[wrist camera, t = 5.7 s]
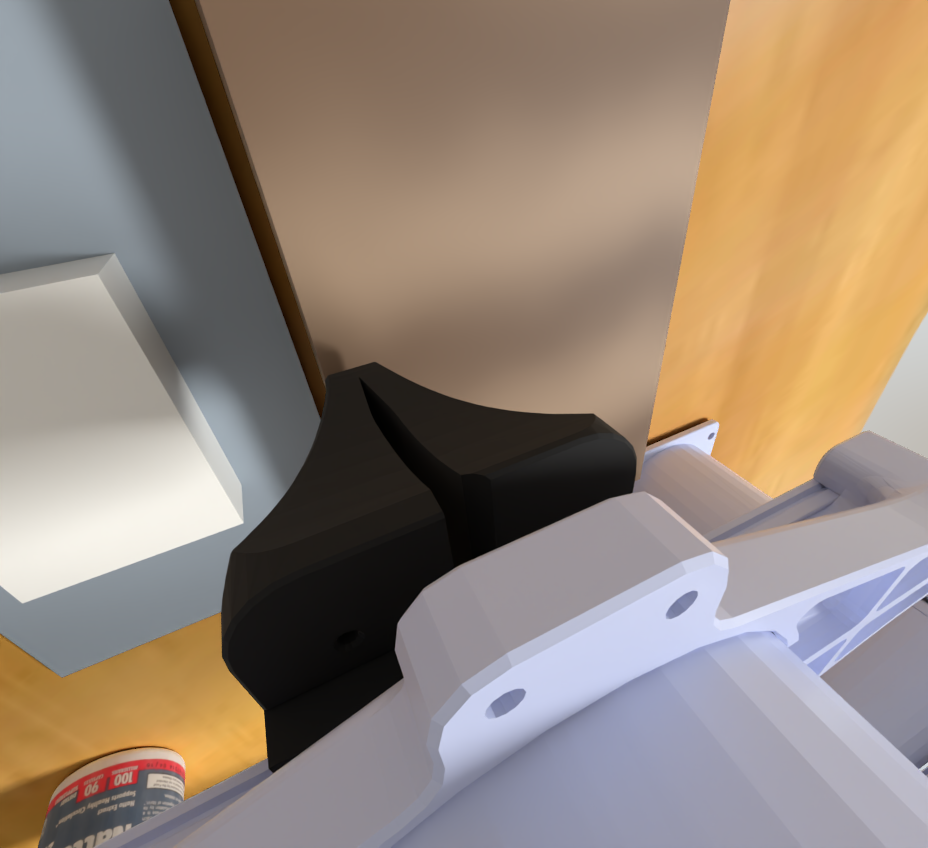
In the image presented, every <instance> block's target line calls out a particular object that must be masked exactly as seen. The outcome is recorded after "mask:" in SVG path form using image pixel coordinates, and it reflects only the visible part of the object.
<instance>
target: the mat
mask: <svg viewBox="0 0 928 848" xmlns="http://www.w3.org/2000/svg"><path fill="white" fill-rule="evenodd" d="M113 253H115V255H116V257H117V259H118V261H119V262H120V264H121V266H122V268H123V270H124V271H125V273H126V275H127V277H128V279H129V281H130V282H131V284H132V286H133V288H134V290H135V292H136V293H137V295H138V297H139V299H140V301H141V302H142V304H143V306H144V308H145V310H146V312H147V313H148V315H149V317H150V319H151V321H152V323H153V324H154V326H155V328H156V330H157V332H158V333H159V335H160V337H161V339H162V341H163V343H164V344H165V346H166V348H167V350H168V352H169V354H170V355H171V357H172V359H173V361H174V363H175V364H176V366H177V368H178V370H179V372H180V374H181V375H182V377H183V379H184V381H185V383H186V385H187V386H188V388H189V390H190V392H191V394H192V395H193V397H194V399H195V401H196V403H197V405H198V406H199V408H200V410H201V412H202V414H203V416H204V417H205V419H206V421H207V423H208V425H209V426H210V428H211V430H212V432H213V434H214V436H215V437H216V439H217V441H218V443H219V445H220V447H221V448H222V450H223V452H224V454H225V456H226V457H227V459H228V461H229V463H230V465H231V467H232V468H233V470H234V472H235V474H236V476H237V478H238V479H239V481H240V483H241V485H242V503H243V520H244V523H243V524H240V525H237V526H235V527H232V528H229V529H226V530H224V531H221V532H218V533H215V534H213V535H210V536H207V537H204V538H202V539H199V540H196V541H193V542H191V543H188V544H185V545H182V546H180V547H177V548H174V549H171V550H169V551H166V552H163V553H160V554H158V555H155V556H152V557H149V558H147V559H144V560H141V561H138V562H136V563H133V564H130V565H127V566H125V567H122V568H119V569H116V570H113V571H111V572H108V573H105V574H102V575H100V576H97V577H94V578H91V579H89V580H86V581H83V582H80V583H78V584H75V585H72V586H69V587H67V588H64V589H61V590H58V591H56V592H53V593H50V594H47V595H45V596H42V597H39V598H36V599H34V600H31V601H28V602H25V603H23V604H22V603H21V602H20V601H19V600H17V599H16V598H15V597H14V596H12V595H11V594H10V593H9V592H7V591H6V590H5V589H4V588H3V587H1V586H0V634H2V635H3V636H5V637H6V638H7V639H9V640H10V641H12V642H13V643H14V644H16V645H17V646H19V647H20V648H21V649H23V650H24V651H26V652H27V653H28V654H30V655H31V656H33V657H34V658H35V659H37V660H38V661H39V662H41V663H42V664H44V665H45V666H46V667H48V668H49V669H51V670H52V671H53V672H55V673H56V674H58V675H59V676H60V677H65V676H67V675H70V674H72V673H74V672H77V671H79V670H82V669H84V668H87V667H89V666H91V665H94V664H96V663H99V662H101V661H103V660H106V659H108V658H111V657H113V656H116V655H118V654H120V653H123V652H125V651H128V650H130V649H133V648H135V647H137V646H140V645H142V644H145V643H147V642H150V641H152V640H154V639H157V638H159V637H162V636H164V635H166V634H169V633H171V632H174V631H176V630H179V629H181V628H183V627H186V626H188V625H191V624H193V623H196V622H198V621H200V620H203V619H205V618H208V617H210V616H213V615H215V614H217V613H220V612H221V608H222V597H223V591H224V585H225V578H226V573H227V568H228V563H229V558H230V554H231V552H232V550H233V549H234V548H235V547H236V546H238V545H239V544H240V543H241V542H242V541H243V540H244V539H245V538H246V537H247V536H248V535H249V534H250V533H251V532H252V531H253V530H254V529H255V528H256V527H257V526H258V525H259V524H260V523H261V522H262V521H263V520H264V519H265V517H266V516H267V515H268V514H269V513H270V512H271V511H272V509H273V508H274V507H275V506H276V505H277V503H278V502H279V501H280V500H281V499H282V497H283V496H284V495H285V493H286V492H287V491H288V489H289V488H290V486H291V485H292V483H293V482H294V480H295V478H296V476H297V475H298V473H299V471H300V469H301V468H302V466H303V464H304V462H305V460H306V458H307V456H308V454H309V452H310V449H311V447H312V445H313V442H314V440H315V437H316V434H317V430H318V427H319V424H320V421H321V419H320V416H319V413H318V411H317V408H316V405H315V402H314V400H313V397H312V394H311V391H310V389H309V386H308V383H307V380H306V378H305V375H304V372H303V369H302V366H301V364H300V361H299V358H298V355H297V353H296V350H295V347H294V344H293V342H292V339H291V336H290V333H289V331H288V328H287V325H286V322H285V320H284V317H283V314H282V311H281V309H280V306H279V303H278V300H277V297H276V295H275V292H274V289H273V286H272V284H271V281H270V278H269V275H268V273H267V270H266V267H265V264H264V262H263V259H262V256H261V253H260V251H259V248H258V245H257V242H256V239H255V237H254V234H253V231H252V228H251V226H250V223H249V220H248V217H247V215H246V212H245V209H244V206H243V204H242V201H241V198H240V195H239V193H238V190H237V187H236V184H235V182H234V179H233V176H232V173H231V170H230V168H229V165H228V162H227V159H226V157H225V154H224V151H223V148H222V146H221V143H220V140H219V137H218V135H217V132H216V129H215V126H214V124H213V121H212V118H211V115H210V112H209V110H208V107H207V104H206V101H205V99H204V96H203V93H202V90H201V88H200V85H199V82H198V79H197V77H196V74H195V71H194V68H193V66H192V63H191V60H190V57H189V55H188V52H187V49H186V46H185V43H184V41H183V38H182V35H181V32H180V30H179V27H178V24H177V21H176V19H175V16H174V13H173V10H172V8H171V5H170V2H169V0H0V274H6V273H11V272H16V271H22V270H27V269H32V268H38V267H43V266H49V265H54V264H59V263H65V262H70V261H75V260H81V259H86V258H91V257H97V256H102V255H107V254H113Z"/></svg>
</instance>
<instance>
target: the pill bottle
mask: <svg viewBox="0 0 928 848" xmlns="http://www.w3.org/2000/svg"><path fill="white" fill-rule="evenodd" d="M184 785H185V762H184V760H183V758H182V757H181V756H180V755H179V754H178V753H177V752H175V751H172V750H169V749H165V748H153V747H149V748H137V749H131V750H126V751H122V752H118V753H115V754H111V755H108V756H105V757H103V758H100V759H98V760H95V761H93V762H91V763H89V764H87V765H85V766H84V767H82V768H80V769H78V770H77V771H75V772H74V773H72V774H71V775H70V776H68V777H67V778H66V779H65V780H64V781H63V782H62V783H61V784H60V785H59V786H58V787H57V788H56V790H55V791H54V793H53V795H52V797H51V800H50V803H49V807H48V810H47V814H46V818H45V822H44V826H43V830H42V834H41V837H40V841H39V845H38V848H93V847H95V846H97V845H99V844H101V843H103V842H105V841H107V840H109V839H111V838H113V837H115V836H117V835H119V834H121V833H123V832H124V831H126V830H128V829H130V828H132V827H134V826H136V825H138V824H140V823H142V822H144V821H146V820H148V819H150V818H152V817H154V816H156V815H158V814H160V813H162V812H163V811H165V810H167V809H169V808H171V807H173V806H175V805H177V804H179V803H181V802H183V801H184Z"/></svg>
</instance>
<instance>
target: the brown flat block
mask: <svg viewBox="0 0 928 848" xmlns="http://www.w3.org/2000/svg"><path fill="white" fill-rule="evenodd" d="M194 1H195V4H196V7H197V10H198V12H199V15H200V18H201V21H202V24H203V27H204V30H205V33H206V36H207V39H208V42H209V45H210V48H211V51H212V54H213V57H214V60H215V63H216V66H217V69H218V72H219V75H220V78H221V81H222V84H223V87H224V90H225V93H226V96H227V98H228V101H229V104H230V107H231V110H232V113H233V116H234V119H235V122H236V125H237V128H238V131H239V134H240V137H241V140H242V143H243V146H244V149H245V152H246V155H247V158H248V161H249V164H250V167H251V170H252V173H253V176H254V179H255V182H256V184H257V187H258V190H259V193H260V196H261V199H262V202H263V205H264V208H265V211H266V214H267V217H268V220H269V223H270V226H271V229H272V232H273V235H274V238H275V241H276V244H277V247H278V250H279V253H280V256H281V259H282V262H283V265H284V268H285V270H286V273H287V276H288V279H289V282H290V285H291V288H292V291H293V294H294V297H295V300H296V303H297V306H298V309H299V312H300V315H301V318H302V321H303V324H304V327H305V330H306V333H307V336H308V339H309V342H310V345H311V348H312V351H313V354H314V357H315V359H316V362H317V365H318V368H319V371H320V374H321V377H322V380H323V383H324V386H325V389H326V383H325V379H326V378H327V376H328V375H331V374H334V373H338V372H341V371H345V370H348V369H351V368H355V367H358V366H362V365H365V364H369V363H372V362H377V363H379V364H380V365H382V366H384V367H386V368H388V369H389V370H391V371H393V372H395V373H397V374H399V375H401V376H402V377H404V378H406V379H408V380H410V381H413V382H415V383H417V384H419V385H421V386H423V387H426V388H428V389H430V390H433V391H436V392H438V393H441V394H443V395H446V396H449V397H452V398H455V399H459V400H462V401H466V402H470V403H473V404H477V405H482V406H486V407H492V408H498V409H504V410H510V411H519V412H530V413H545V414H585V413H593V414H595V415H596V416H598V417H599V418H600V419H602V420H603V421H604V422H606V423H607V424H608V425H609V426H611V427H612V428H613V429H615V430H616V431H617V432H618V433H620V434H621V435H622V436H624V437H625V438H626V439H627V440H628V441H629V442H630V443H631V444H632V446H633V447H634V450H635V453H636V456H637V467H636V477H635V481H637V480H639V479H640V477H641V471H642V466H643V461H644V455H645V450H646V445H647V439H648V434H649V429H650V423H651V418H652V413H653V408H654V402H655V397H656V392H657V386H658V381H659V376H660V370H661V365H662V360H663V355H664V349H665V344H666V339H667V333H668V328H669V323H670V317H671V312H672V307H673V301H674V296H675V291H676V286H677V280H678V275H679V270H680V264H681V259H682V254H683V248H684V243H685V238H686V232H687V227H688V222H689V217H690V211H691V206H692V201H693V195H694V190H695V185H696V179H697V174H698V169H699V164H700V158H701V153H702V148H703V142H704V137H705V132H706V126H707V121H708V116H709V110H710V105H711V100H712V95H713V89H714V84H715V79H716V73H717V68H718V63H719V57H720V52H721V47H722V41H723V36H724V31H725V26H726V20H727V15H728V10H729V4H730V0H194Z"/></svg>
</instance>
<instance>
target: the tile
mask: <svg viewBox="0 0 928 848" xmlns="http://www.w3.org/2000/svg"><path fill="white" fill-rule="evenodd" d="M243 523H244V520H243V503H242V485H241V483H240V481H239V479H238V478H237V476H236V474H235V472H234V470H233V468H232V467H231V465H230V463H229V461H228V459H227V457H226V456H225V454H224V452H223V450H222V448H221V447H220V445H219V443H218V441H217V439H216V437H215V436H214V434H213V432H212V430H211V428H210V426H209V425H208V423H207V421H206V419H205V417H204V416H203V414H202V412H201V410H200V408H199V406H198V405H197V403H196V401H195V399H194V397H193V395H192V394H191V392H190V390H189V388H188V386H187V385H186V383H185V381H184V379H183V377H182V375H181V374H180V372H179V370H178V368H177V366H176V364H175V363H174V361H173V359H172V357H171V355H170V354H169V352H168V350H167V348H166V346H165V344H164V343H163V341H162V339H161V337H160V335H159V333H158V332H157V330H156V328H155V326H154V324H153V323H152V321H151V319H150V317H149V315H148V313H147V312H146V310H145V308H144V306H143V304H142V302H141V301H140V299H139V297H138V295H137V293H136V292H135V290H134V288H133V286H132V284H131V282H130V281H129V279H128V277H127V275H126V273H125V271H124V270H123V268H122V266H121V264H120V262H119V261H118V259H117V257H116V255H115V253H113V254H107V255H102V256H97V257H91V258H86V259H81V260H75V261H70V262H65V263H59V264H54V265H49V266H43V267H38V268H32V269H27V270H22V271H16V272H11V273H6V274H0V586H1V587H3V588H4V589H5V590H6V591H7V592H9V593H10V594H11V595H12V596H14V597H15V598H16V599H17V600H19V601H20V602H21V603H22V604H23V603H25V602H28V601H31V600H34V599H36V598H39V597H42V596H45V595H47V594H50V593H53V592H56V591H58V590H61V589H64V588H67V587H69V586H72V585H75V584H78V583H80V582H83V581H86V580H89V579H91V578H94V577H97V576H100V575H102V574H105V573H108V572H111V571H113V570H116V569H119V568H122V567H125V566H127V565H130V564H133V563H136V562H138V561H141V560H144V559H147V558H149V557H152V556H155V555H158V554H160V553H163V552H166V551H169V550H171V549H174V548H177V547H180V546H182V545H185V544H188V543H191V542H193V541H196V540H199V539H202V538H204V537H207V536H210V535H213V534H215V533H218V532H221V531H224V530H226V529H229V528H232V527H235V526H237V525H240V524H243Z"/></svg>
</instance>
